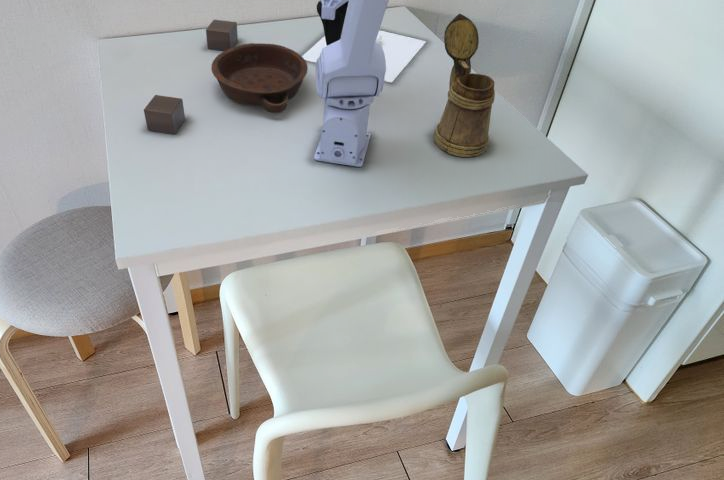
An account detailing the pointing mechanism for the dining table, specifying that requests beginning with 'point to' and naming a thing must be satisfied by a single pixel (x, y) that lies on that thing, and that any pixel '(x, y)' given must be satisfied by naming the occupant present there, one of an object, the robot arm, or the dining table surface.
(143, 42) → the dining table surface
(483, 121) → the wooden mug
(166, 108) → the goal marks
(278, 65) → the dish
